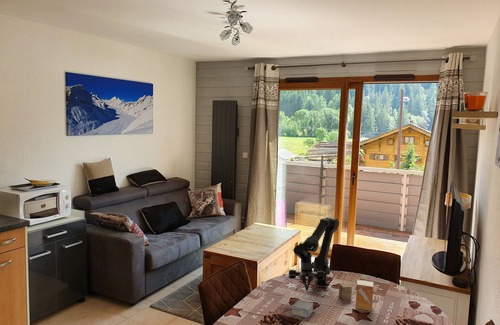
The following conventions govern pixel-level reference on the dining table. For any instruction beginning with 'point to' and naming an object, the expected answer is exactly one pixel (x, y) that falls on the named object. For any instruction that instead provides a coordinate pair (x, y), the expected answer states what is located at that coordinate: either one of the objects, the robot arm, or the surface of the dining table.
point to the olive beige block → (345, 291)
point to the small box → (364, 295)
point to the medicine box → (302, 308)
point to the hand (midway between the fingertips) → (306, 290)
